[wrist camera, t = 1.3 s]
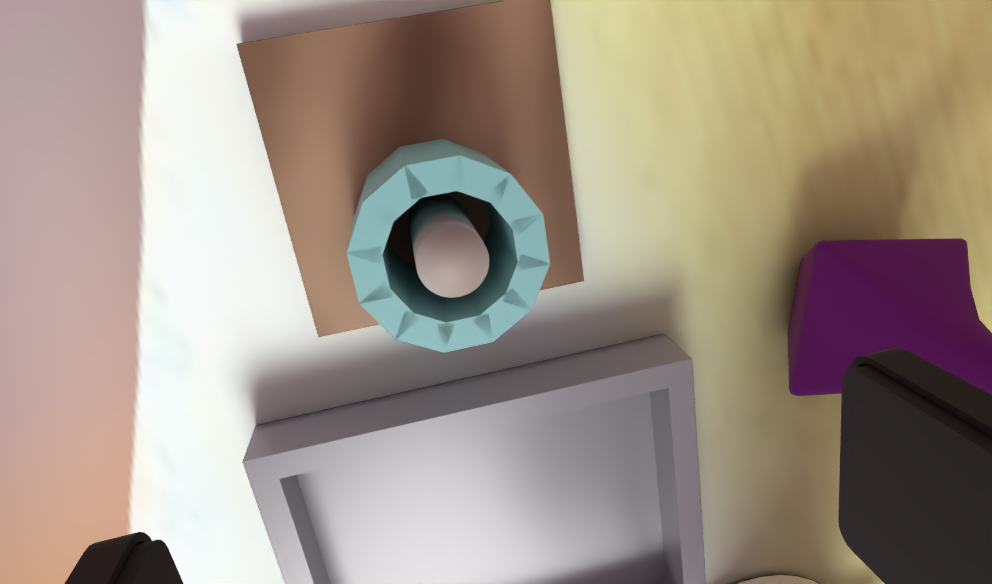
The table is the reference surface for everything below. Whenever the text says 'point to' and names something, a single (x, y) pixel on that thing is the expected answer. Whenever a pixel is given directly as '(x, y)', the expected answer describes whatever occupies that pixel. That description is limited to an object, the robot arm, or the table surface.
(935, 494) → the robot arm
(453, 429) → the tray
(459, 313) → the ring
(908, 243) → the perfume bottle
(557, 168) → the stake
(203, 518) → the table surface
